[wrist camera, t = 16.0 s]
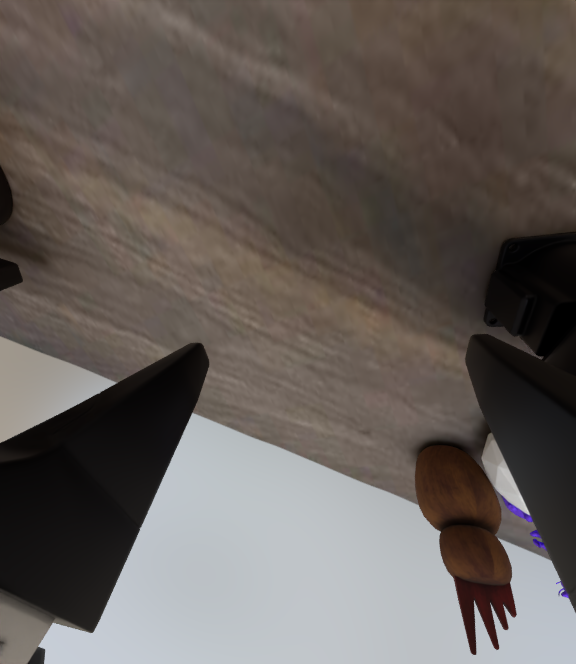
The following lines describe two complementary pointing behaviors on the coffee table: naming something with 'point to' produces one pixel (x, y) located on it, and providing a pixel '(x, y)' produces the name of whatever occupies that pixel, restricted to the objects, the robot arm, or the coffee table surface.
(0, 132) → the coffee table surface
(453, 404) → the coffee table surface
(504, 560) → the wooden figurine
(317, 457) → the coffee table surface
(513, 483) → the geometric ball
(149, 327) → the coffee table surface
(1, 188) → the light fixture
